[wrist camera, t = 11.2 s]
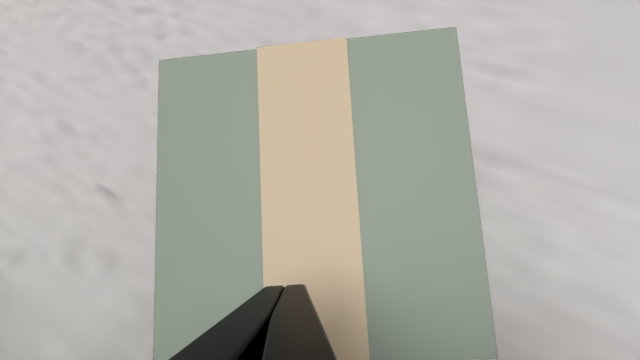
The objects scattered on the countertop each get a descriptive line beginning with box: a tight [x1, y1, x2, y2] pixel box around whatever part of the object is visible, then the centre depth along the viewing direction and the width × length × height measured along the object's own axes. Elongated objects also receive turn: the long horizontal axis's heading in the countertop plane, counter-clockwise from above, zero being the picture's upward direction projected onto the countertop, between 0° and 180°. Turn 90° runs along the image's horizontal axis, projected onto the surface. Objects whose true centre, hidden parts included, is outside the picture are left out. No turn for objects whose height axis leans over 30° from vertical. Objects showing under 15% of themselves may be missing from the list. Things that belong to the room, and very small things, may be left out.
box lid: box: [153, 27, 498, 360], centre depth 13 cm, size 10×10×1 cm
